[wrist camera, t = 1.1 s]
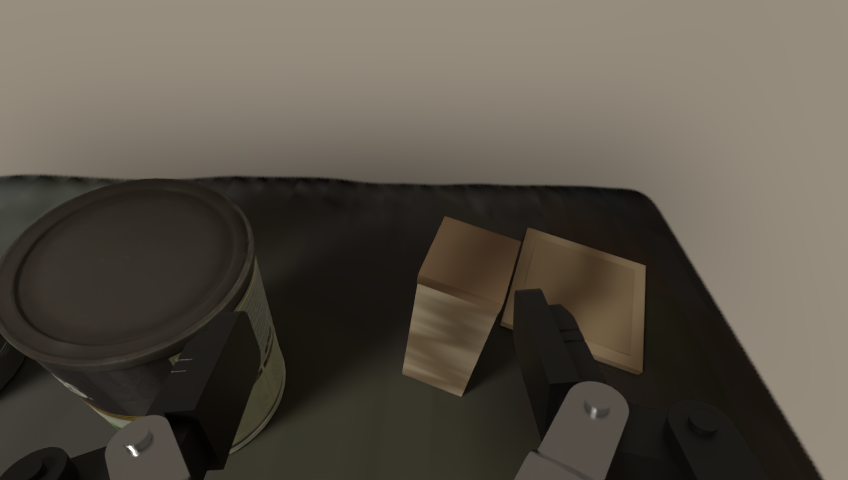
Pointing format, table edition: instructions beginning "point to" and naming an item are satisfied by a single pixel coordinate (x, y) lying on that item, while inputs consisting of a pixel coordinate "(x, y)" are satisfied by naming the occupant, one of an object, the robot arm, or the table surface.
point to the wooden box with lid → (457, 303)
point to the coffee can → (136, 293)
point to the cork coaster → (587, 294)
